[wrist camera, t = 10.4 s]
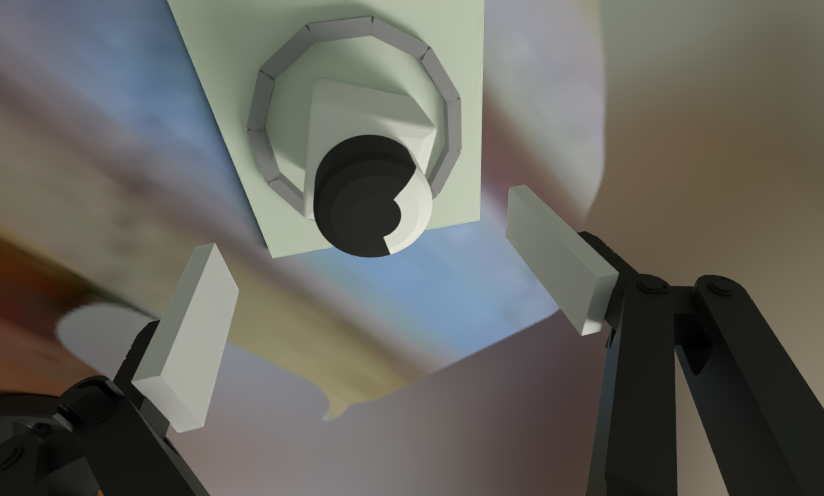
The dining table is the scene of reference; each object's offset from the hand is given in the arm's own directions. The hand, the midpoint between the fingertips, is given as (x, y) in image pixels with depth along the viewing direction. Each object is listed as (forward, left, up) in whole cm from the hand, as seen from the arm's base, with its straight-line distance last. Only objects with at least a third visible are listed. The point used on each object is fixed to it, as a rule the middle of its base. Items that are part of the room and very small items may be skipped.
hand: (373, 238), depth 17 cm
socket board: (0, 0, -15) cm, 15 cm away
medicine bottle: (0, 0, -14) cm, 14 cm away
